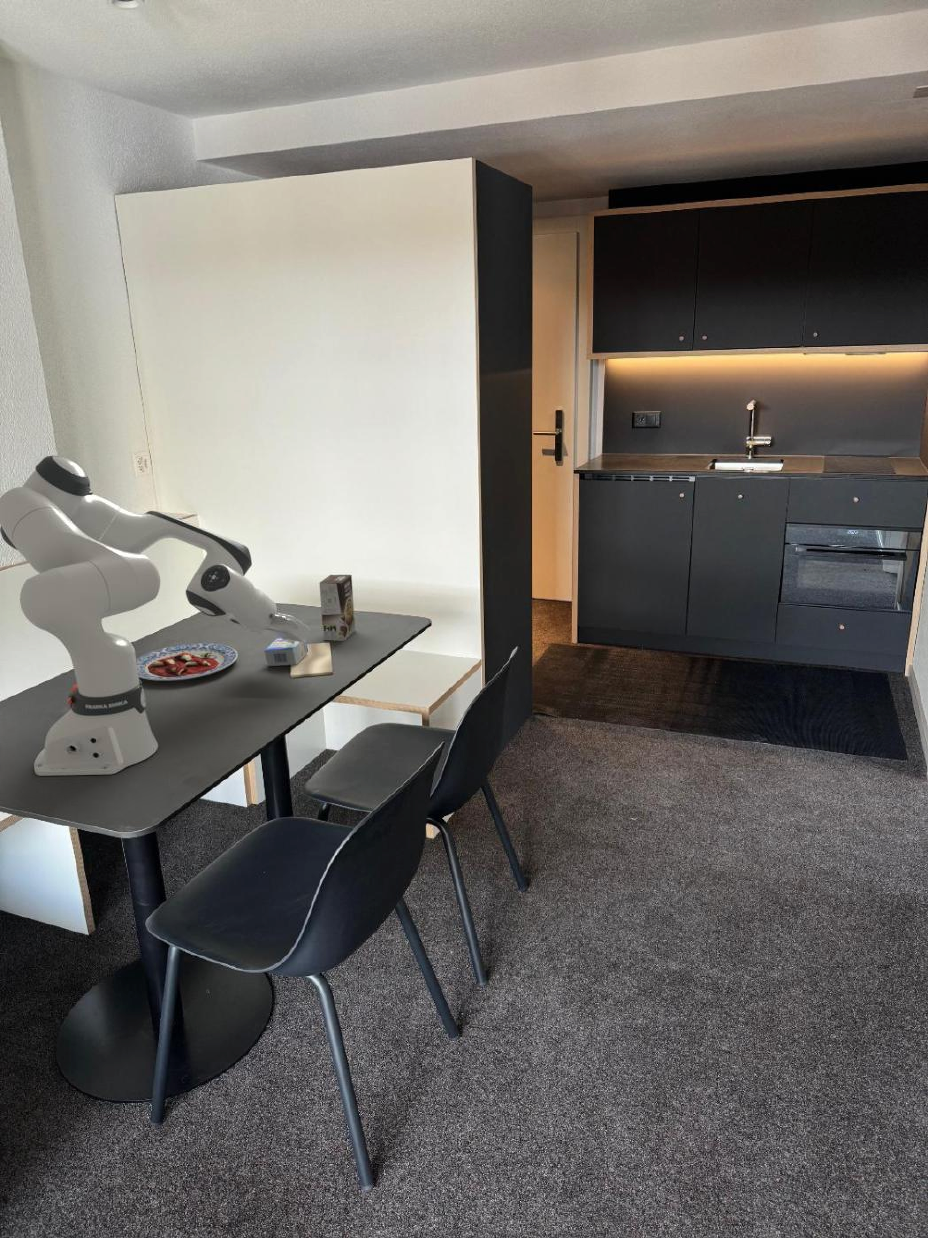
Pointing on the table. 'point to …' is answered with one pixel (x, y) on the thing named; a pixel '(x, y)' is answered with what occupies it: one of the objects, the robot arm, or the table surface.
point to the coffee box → (337, 607)
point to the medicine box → (285, 652)
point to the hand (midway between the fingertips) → (291, 640)
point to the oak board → (314, 661)
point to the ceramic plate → (185, 661)
